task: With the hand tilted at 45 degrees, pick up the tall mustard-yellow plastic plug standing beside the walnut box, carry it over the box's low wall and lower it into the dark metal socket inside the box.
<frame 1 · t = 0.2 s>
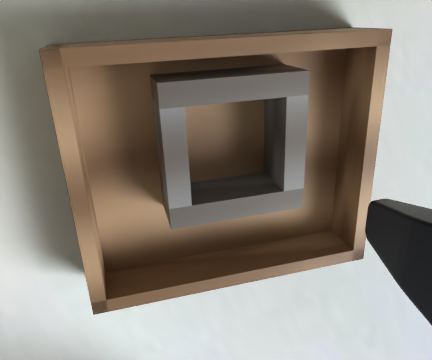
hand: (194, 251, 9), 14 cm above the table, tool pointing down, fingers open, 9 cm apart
walled box: (219, 156, 24), on the table
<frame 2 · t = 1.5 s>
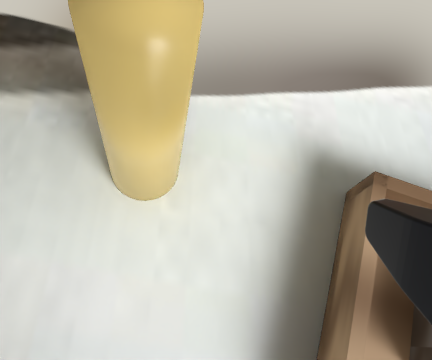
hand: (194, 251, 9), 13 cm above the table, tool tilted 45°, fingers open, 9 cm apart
plug: (145, 169, 24), on the table
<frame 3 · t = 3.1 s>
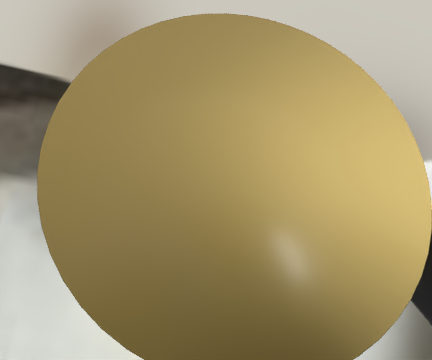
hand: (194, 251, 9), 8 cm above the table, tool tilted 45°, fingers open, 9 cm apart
plug: (176, 296, 16), on the table
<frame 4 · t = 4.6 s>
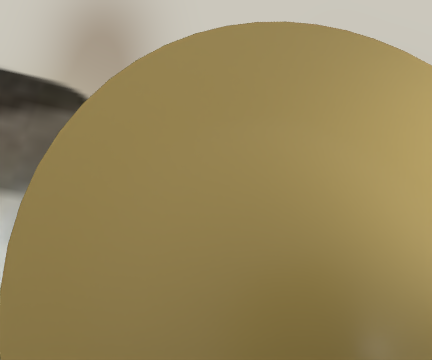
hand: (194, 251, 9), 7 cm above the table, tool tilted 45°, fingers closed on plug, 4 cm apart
plug: (184, 323, 14), on the table, touching gripper
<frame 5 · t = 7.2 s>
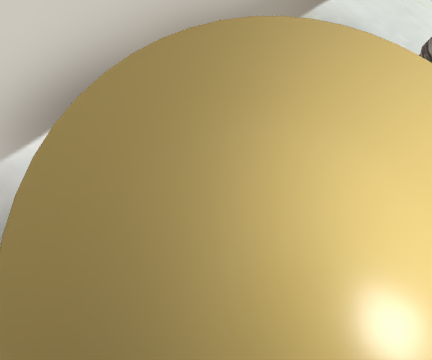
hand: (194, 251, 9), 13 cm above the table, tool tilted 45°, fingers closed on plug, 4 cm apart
plug: (183, 322, 14), point 7 cm above the table, touching gripper
when the fingers open (8 cm above the table, at t = 9.6 s): plug stays where it is, resting on walled box.
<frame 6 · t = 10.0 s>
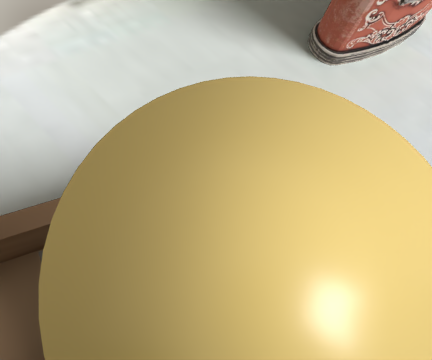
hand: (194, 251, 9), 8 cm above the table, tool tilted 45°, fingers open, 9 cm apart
lighter: (362, 34, 24), on the table
plug: (182, 324, 15), point 1 cm above the table, touching walled box
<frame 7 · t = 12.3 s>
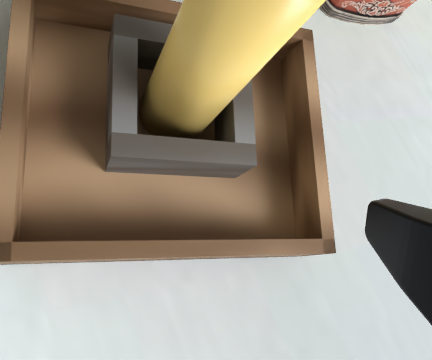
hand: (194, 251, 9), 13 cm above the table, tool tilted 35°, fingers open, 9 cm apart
walled box: (170, 141, 24), on the table
lighter: (356, 7, 32), on the table
plug: (173, 113, 23), point 1 cm above the table, touching walled box
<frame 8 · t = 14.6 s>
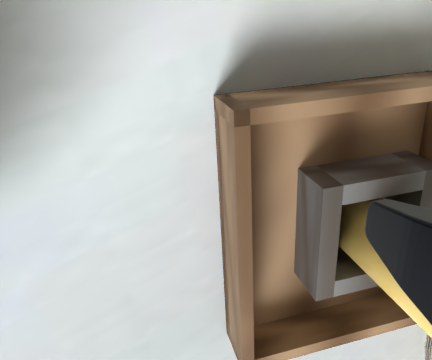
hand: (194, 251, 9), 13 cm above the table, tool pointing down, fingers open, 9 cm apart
walled box: (322, 211, 26), on the table
plug: (349, 212, 26), point 1 cm above the table, touching walled box
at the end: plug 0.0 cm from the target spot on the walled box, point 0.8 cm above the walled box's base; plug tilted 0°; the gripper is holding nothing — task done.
